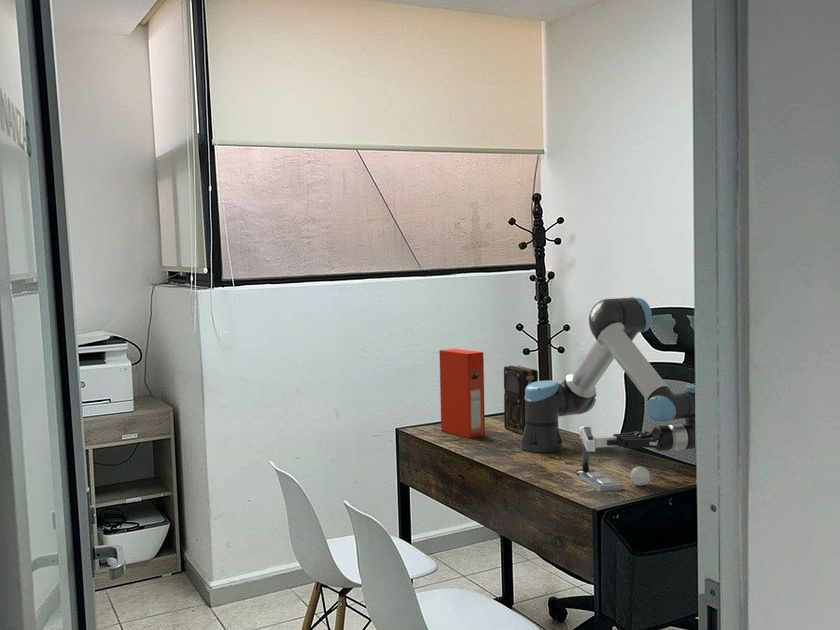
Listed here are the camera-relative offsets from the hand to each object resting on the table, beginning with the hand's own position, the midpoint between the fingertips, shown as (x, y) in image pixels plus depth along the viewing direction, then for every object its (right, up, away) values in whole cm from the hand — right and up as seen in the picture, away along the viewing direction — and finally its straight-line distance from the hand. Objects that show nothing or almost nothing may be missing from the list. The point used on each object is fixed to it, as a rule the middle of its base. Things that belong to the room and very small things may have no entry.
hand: (595, 442), depth 255 cm
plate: (+2, -13, +3) cm, 13 cm away
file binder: (-35, -8, +78) cm, 86 cm away
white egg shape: (+14, -13, -1) cm, 19 cm away
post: (0, -12, +14) cm, 18 cm away
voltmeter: (-12, -8, +81) cm, 82 cm away
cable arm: (-1, -1, +5) cm, 5 cm away
